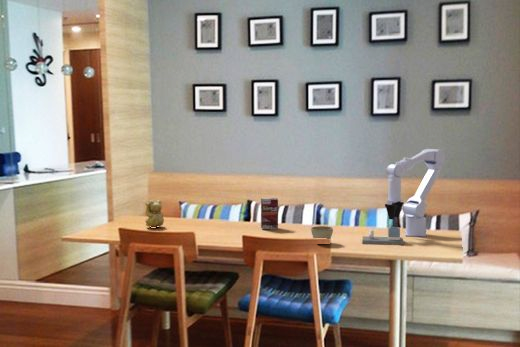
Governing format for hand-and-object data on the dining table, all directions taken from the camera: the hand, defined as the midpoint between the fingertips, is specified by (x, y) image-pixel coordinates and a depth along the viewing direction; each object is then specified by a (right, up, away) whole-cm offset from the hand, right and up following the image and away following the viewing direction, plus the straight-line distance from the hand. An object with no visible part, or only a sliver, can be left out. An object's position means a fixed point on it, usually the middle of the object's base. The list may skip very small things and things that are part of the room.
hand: (394, 218), depth 264 cm
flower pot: (-35, -11, -11) cm, 38 cm away
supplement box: (-58, -8, +27) cm, 65 cm away
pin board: (-7, -10, -9) cm, 16 cm away
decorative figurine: (-119, -8, +34) cm, 124 cm away
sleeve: (-3, -9, -10) cm, 14 cm away
